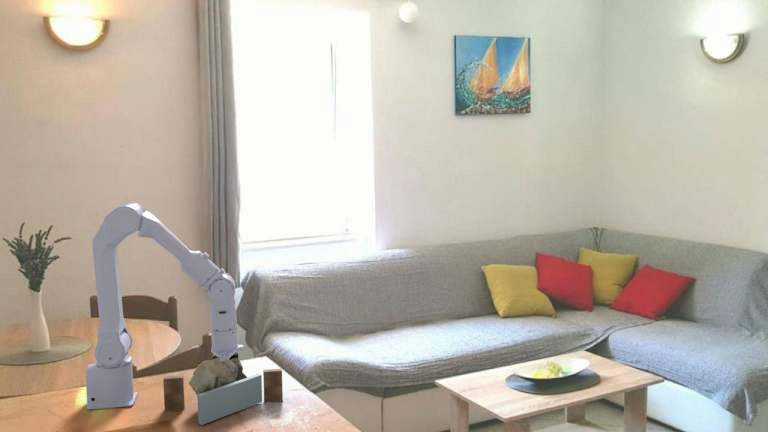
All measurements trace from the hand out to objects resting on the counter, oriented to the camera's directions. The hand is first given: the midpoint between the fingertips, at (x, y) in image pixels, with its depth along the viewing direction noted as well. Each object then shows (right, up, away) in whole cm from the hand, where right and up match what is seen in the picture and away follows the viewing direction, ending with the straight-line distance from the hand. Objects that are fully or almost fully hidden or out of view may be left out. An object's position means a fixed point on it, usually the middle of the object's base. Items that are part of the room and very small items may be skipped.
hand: (227, 386), depth 162 cm
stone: (+3, +3, -11) cm, 12 cm away
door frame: (+1, -3, -6) cm, 7 cm away
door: (+3, -3, -11) cm, 12 cm away
